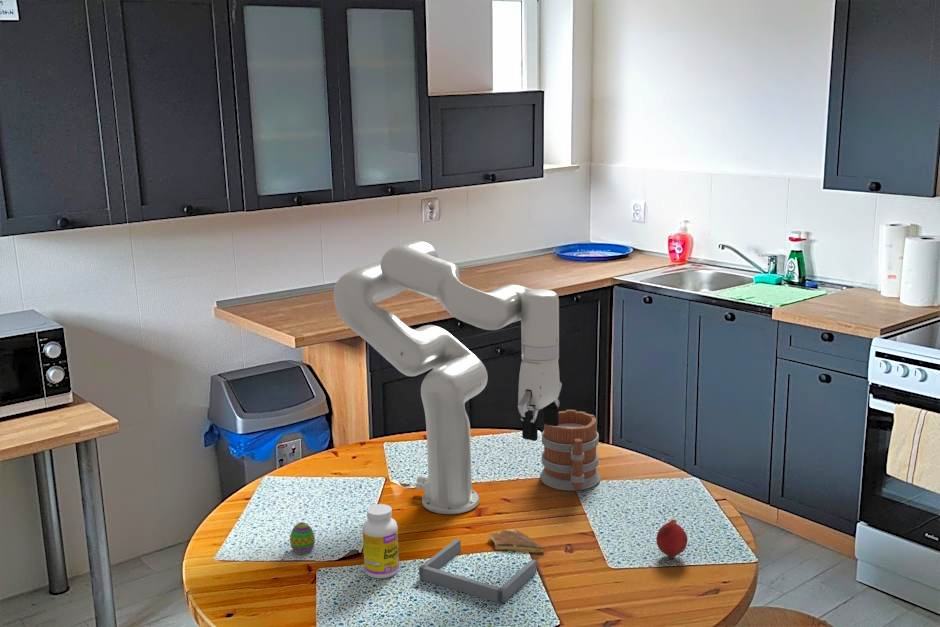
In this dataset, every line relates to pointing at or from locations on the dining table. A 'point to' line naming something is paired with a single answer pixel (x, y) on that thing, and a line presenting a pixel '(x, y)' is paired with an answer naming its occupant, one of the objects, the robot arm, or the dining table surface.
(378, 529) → the supplement bottle
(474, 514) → the dining table surface
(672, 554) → the onion
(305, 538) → the egg
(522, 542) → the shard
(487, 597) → the slate bay
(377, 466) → the dining table surface
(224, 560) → the dining table surface
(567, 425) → the mug
